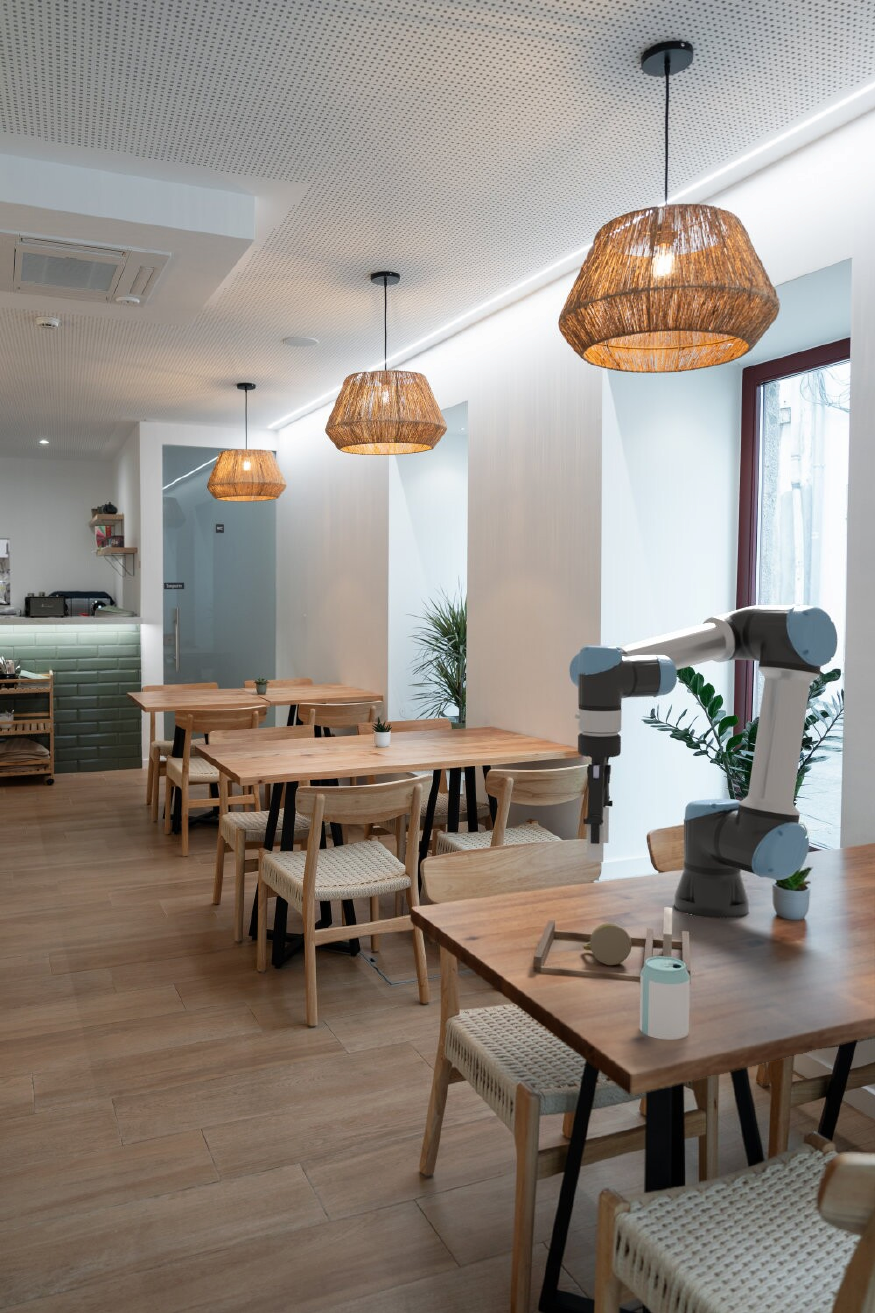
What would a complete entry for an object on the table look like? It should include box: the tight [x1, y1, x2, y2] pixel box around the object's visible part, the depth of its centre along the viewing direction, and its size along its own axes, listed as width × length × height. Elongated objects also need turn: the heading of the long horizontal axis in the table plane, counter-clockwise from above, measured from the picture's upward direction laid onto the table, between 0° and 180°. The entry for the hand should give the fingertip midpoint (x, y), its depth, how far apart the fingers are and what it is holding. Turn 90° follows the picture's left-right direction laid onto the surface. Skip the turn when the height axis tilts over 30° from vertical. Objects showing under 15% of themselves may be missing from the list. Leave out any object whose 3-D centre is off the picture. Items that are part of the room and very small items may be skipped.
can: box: [639, 955, 691, 1041], centre depth 145 cm, size 7×7×12 cm
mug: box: [583, 922, 632, 966], centre depth 176 cm, size 8×10×10 cm
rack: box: [533, 906, 691, 982], centre depth 176 cm, size 26×20×9 cm
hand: (598, 851), depth 176 cm, fingers open, 13 cm apart
